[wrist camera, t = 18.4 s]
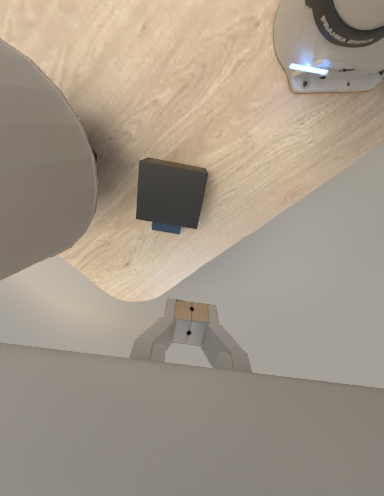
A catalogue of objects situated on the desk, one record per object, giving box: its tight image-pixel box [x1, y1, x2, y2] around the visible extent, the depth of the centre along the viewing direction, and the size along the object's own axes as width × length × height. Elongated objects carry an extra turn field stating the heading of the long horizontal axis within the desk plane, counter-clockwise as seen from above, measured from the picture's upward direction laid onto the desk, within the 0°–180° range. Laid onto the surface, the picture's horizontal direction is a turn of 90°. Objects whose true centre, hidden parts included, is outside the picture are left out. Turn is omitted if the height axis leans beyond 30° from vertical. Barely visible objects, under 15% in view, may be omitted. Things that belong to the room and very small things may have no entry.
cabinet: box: [136, 158, 208, 229], centre depth 44 cm, size 12×11×8 cm
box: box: [152, 222, 181, 234], centre depth 47 cm, size 6×9×6 cm
